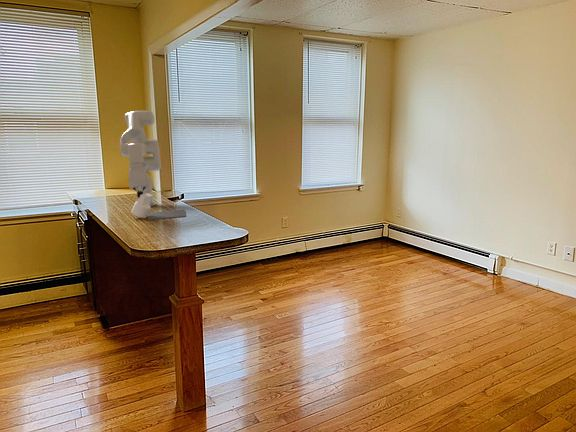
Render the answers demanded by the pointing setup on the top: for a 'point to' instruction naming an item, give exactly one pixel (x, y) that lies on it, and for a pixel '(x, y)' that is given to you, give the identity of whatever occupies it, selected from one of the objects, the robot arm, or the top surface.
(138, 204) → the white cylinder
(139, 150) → the robot arm
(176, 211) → the mat
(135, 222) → the top surface
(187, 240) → the top surface
